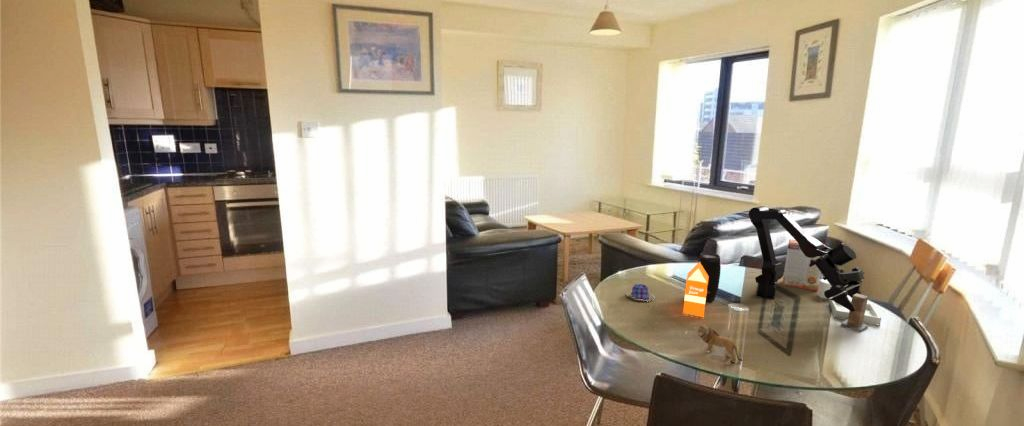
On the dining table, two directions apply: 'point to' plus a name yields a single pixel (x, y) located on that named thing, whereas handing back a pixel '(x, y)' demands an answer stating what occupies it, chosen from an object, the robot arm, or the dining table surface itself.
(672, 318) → the dining table surface
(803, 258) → the cracker box
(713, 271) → the black tall cylinder
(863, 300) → the wooden post with base
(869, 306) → the tray
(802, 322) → the dining table surface
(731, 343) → the lion figurine
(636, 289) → the plaid hat
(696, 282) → the orange juice
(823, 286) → the white cylinder
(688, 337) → the dining table surface
